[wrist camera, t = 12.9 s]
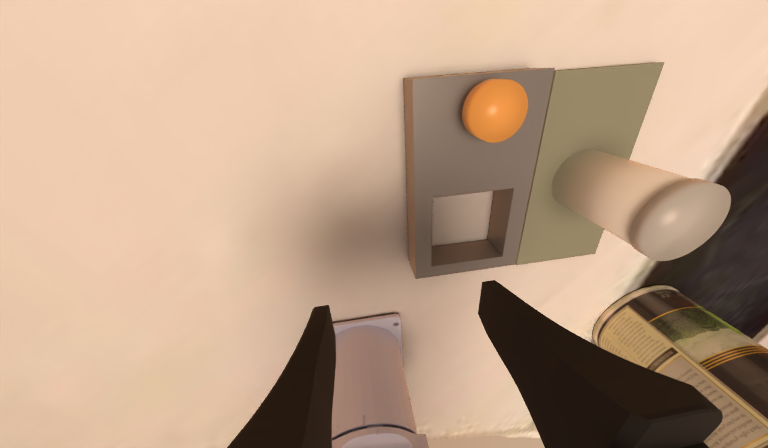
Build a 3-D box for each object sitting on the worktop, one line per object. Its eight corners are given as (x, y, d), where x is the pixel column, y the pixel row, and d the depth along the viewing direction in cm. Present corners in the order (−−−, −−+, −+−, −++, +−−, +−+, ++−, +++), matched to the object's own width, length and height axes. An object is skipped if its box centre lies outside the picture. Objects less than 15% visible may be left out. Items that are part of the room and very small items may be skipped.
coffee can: (664, 267, 28) (910, 415, 16) (689, 312, 33) (898, 455, 21) (576, 326, 31) (731, 491, 19) (609, 360, 35) (753, 512, 23)
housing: (499, 246, 24) (515, 264, 22) (408, 259, 23) (415, 278, 21) (528, 68, 18) (554, 67, 15) (403, 78, 17) (412, 79, 15)
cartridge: (596, 203, 23) (701, 256, 16) (543, 208, 22) (629, 265, 16) (618, 146, 20) (749, 180, 14) (560, 149, 20) (667, 187, 13)
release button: (490, 128, 18) (522, 139, 15) (446, 132, 18) (468, 145, 15) (496, 76, 17) (533, 76, 14) (448, 79, 16) (473, 82, 13)
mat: (589, 249, 26) (594, 253, 25) (512, 261, 25) (516, 265, 25) (655, 62, 19) (664, 62, 18) (549, 71, 18) (555, 71, 17)
